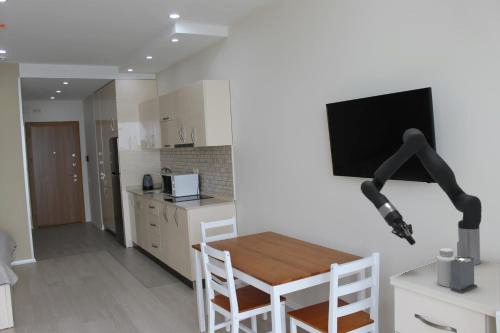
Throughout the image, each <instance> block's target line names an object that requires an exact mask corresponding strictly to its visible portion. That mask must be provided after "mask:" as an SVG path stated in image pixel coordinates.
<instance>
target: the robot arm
mask: <svg viewBox="0 0 500 333" xmlns="http://www.w3.org/2000/svg"><path fill="white" fill-rule="evenodd" d="M402 141H403V144H402V145H401V146H400V148H399V149H397V151H396V152H395V153H394V154H393V155H391V156H390V157H388V159H386V160H385V161H383V163H382V164H381V165H380V166H379V167H378V168H377V169H376V171H374V174H373V175H374V177H373V178H372V180H365V181H362V183H361V184H360V191H361V193H362V194H363V196H364V197H365V198H366V199H368V201H370V202H371V203H372V204H373V206H374V207H375V208H376V210H377V212H379V214H380V216H381V218H383V219H384V221H385V223H387V225H388V226H389V227H391V228H392V230H391V233H392V234H393V235H395V236H397V237H398V238H400V239H401V240H402V239H405V240H406V241H407V243H408V244H409V245H410V246H413V245H415V244H416V240H415V239H414V237H413V236H412V235H413V234H414V231H413V226H412V223H409V224H408V223H406V221H404V220H403V216H402V214H401V212H399V210H398V209H397V208H396V207H395V205H394V204H392V201H390V200H389V199H388V198H387V196H386V195H384V194H383V193H381V191H382V189H383V188H384V186H385V184H386V182H387V181H388V180H389V179H390V178H391V177H392V176H393V175H394V174H395V172H396V171H397V170H399V169H400V167H401V166H403V164H405V162H407V161H408V160H409V159H410V158H411V157H412V156H413V155H416V157H418V159H419V160H420V162H421V164H422V165H423V167H424V168H425V170H426V172H427V173H428V174H429V176H430V177H431V178H432V179H433V180H434V182H436V184H437V185H438V186H439V187H440V189H441V190H442V192H444V193H445V195H447V197H448V199H449V200H450V202H451V203H452V204H453V206H454V208H455V209H456V210H457V211H458V212H460V213H462V219H461V220H459V221H457V222H458V223H457V228H458V229H457V230H458V231H457V233H458V235H457V237H458V241H457V243H456V256H467V257H472V258H474V266H477V265H480V264H481V243H480V242H481V238H480V225H481V223H482V212H483V211H482V208H483V207H482V201H481V200H480V198H479V197H477V196H476V195H471V194H467V193H466V192H465V190H463V189H462V188H461V187H460V185H459V184H458V182H457V179H456V176H455V175H456V174H455V172H454V171H453V169H452V168H451V167H450V166H449V164H448V163H447V162H446V161H445V160H444V158H443V157H441V155H440V154H438V152H436V151H435V150H434V149H433V148H432V147H431V146H430V144H429V142H428V141H427V138H426V137H425V135H424V133H423V132H422V131H421V130H419V128H413V127H412V128H409V129H406V130H405V131H404V133H403V136H402Z"/></svg>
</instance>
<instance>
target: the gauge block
mask: <svg viewBox="0 0 500 333" xmlns="http://www.w3.org/2000/svg"><path fill="white" fill-rule="evenodd" d="M454 256H455V257H454V260H453V261H451V273H450V276H451V287H450V291H452V292H455V293H460V294H462V295H463V294H465V293H467V292H469V291H472V290H474V289H476V288H478V284H475V265H474V258H472V257H467V256H457V255H454Z"/></svg>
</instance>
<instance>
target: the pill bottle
mask: <svg viewBox="0 0 500 333" xmlns="http://www.w3.org/2000/svg"><path fill="white" fill-rule="evenodd" d="M455 256H456V255H454V250H453V248H449V247H444V248H443V247H441V248H440V249H439V255H437V257H436V278H437V280H436V281H437V282H436V283H437V284H438V285H439V286H443V287H446V288H447V287H448V288H451V276H450V273H451V261H453V260H454V257H455Z"/></svg>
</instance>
